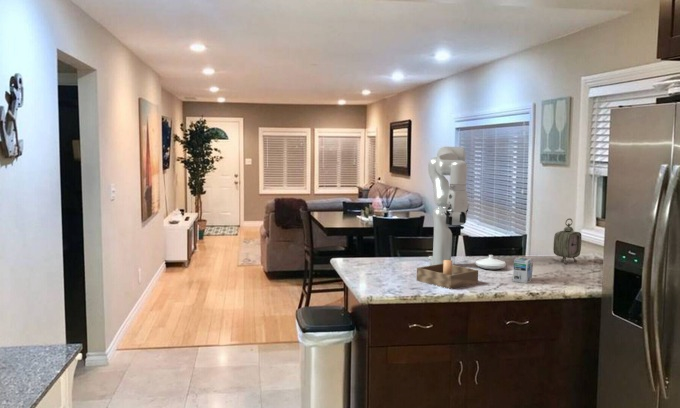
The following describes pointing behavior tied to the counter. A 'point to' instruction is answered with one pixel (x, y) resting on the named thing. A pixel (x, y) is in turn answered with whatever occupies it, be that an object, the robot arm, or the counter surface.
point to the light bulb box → (523, 269)
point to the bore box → (447, 276)
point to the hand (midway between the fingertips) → (455, 223)
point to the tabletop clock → (567, 243)
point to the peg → (447, 267)
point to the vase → (490, 263)
